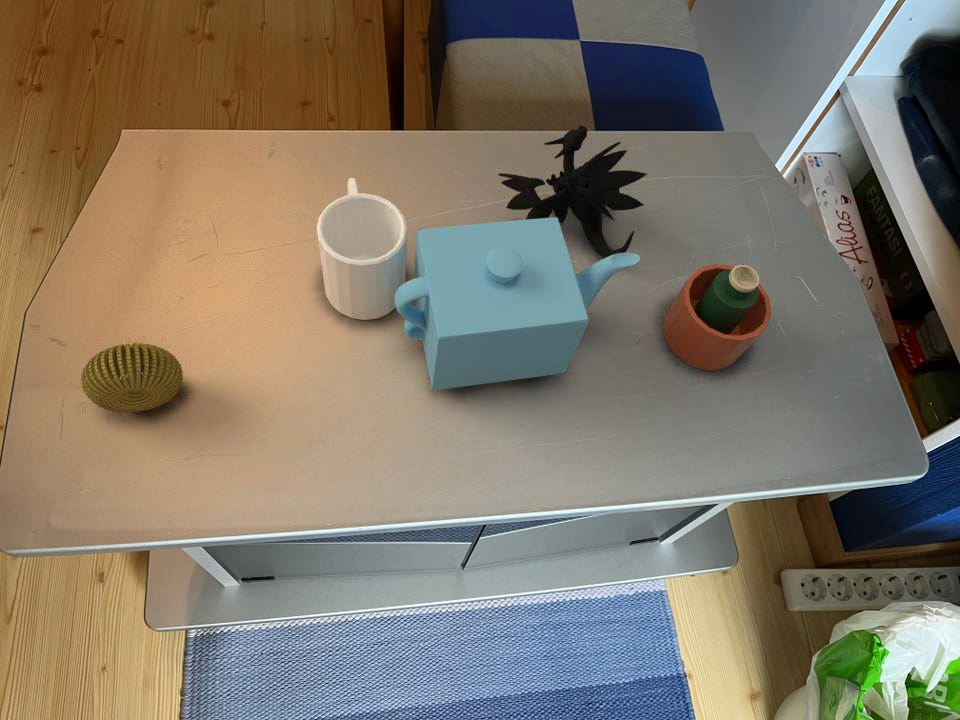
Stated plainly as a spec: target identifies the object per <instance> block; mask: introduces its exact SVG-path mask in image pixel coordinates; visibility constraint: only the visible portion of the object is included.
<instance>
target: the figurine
mask: <svg viewBox="0 0 960 720" xmlns="http://www.w3.org/2000/svg"><path fill="white" fill-rule="evenodd" d="M587 137H588V128H587V127H586V126H585V125H582V124H581V125H579V126H578V128H577V129H571V130H569V131H567V132H566V133H565V134H564V135H563V136H562V137H560V138H557V139H554V140H550V141H547V142H543V145H545V146H552V145H562V149H561V150H560V152H558V153H557V155H555V156H554V157H553V159H558V158H560V157H563V159H562V167H563V170H560V171H559V176H558V177H556V174H555V173H552V174H551V175H550V178H546V179H545V180H543V179H542V178H538V177H528V176H523V175H518V174H512V173H502V172H501V173H498V174H497V175H498V176H499V177H504V178H507V179H505V180H503V181H501V182H500V184H502V185H503V186H504V187H507V188H508V189H510V190H513V191H516V192H518V193H517V194H515V195H514V196H513V197H512V198H511V199H510V200H509V202H508V204H507V205H506V209H508V210H512V211H526V210H529V211H528V212H527V215H526V218H525V220H529V219H541V218H550V216H551V215H552V213H553V214H554V217H558V220H559V223H560V225H563V224H564V222H565V221H566V219H567V216H568V212H569V210H570V211H571V213H572V214H573V216H574V217H575V218H576V219H577V220H578V221H579V222H580V226H581V228H582V231H583V233H584V236H585V238H586V239H587V241H588V242H589V244H590V246H592V248H593V249H594V250H595V252H596V253H597V254H598V255H599V256H601V257H602V258H603V259H604V258H606V257H609V256H611V255H614V254H618V253H627V252H628V249H629V248H630V246H631V243H632V240H633V238H634V235H635V230H632V232H631V233H630V234H629V235H628V237H627V239H626V241H625V243H624V244H623V245H622V246H621V247H619V248H618V247H617V248H616V249H611V247H610V246H609V245H608V243H607V242H606V238H605V236H604V234H603V215H604V216H605V217H607V218H608V219H610V220H611V221H613V222H615V219H614V217H613V215H612V214H611V213H610V211H609V210H608V209H610V210H612V211H613V212H616V211H617V212H618V211H619V212H620V211H621V212H622V211H628V210H629V211H630V210H634V209H637V208H640V207H643V206H645V204H644V203H642V202H641V201H640V200H638V199H637V198H635V197H634V196H633V197H632V196H631V195H629V194H626V193H622V192H620V191H621V189H622V188H624V187H626V186H628V185H631V184H633V183H635V182H638V181H640V180H641V179H642V178H644V177H646V176H647V175H648V173H645V172H641V171H636V170H627V169H626V170H624V169H623V170H612V169H613V168H615V166H616V165H617V164H618V163H619V162H620V161H621V160H622V159H623V158H624V156H625V155H626V154H627V152H628V149H624V150H617V151H615V152H611V151H612V150H613V149H615V148H616V147H618V146H620V144H621V143H622V142H621V141H617V142H614V143H613V144H611V145H610V146H608V147H606V148H604V149H603V150H601V151H600V152H599V153H597V154H595V155H594V156H593V157H592V158H590V159H589V160H588V161H585V162H584V163H583V165H580V166H578V167H577V168H575V167H576V166H575V152H578V151H579V150H580V149H581V148H582V146H583V142H584V141H585V139H586V138H587ZM609 152H611V153H609ZM546 183H547V184H548V186H550V187H552V190H553V192H554V194H552V195H550V196H548V197H545V198H543V199H541V197H540V196H539V194H538V192H537V191H536V190H535V189H536V188H537V187H541V186H545V185H546Z"/></svg>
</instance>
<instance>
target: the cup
mask: <svg viewBox="0 0 960 720" xmlns="http://www.w3.org/2000/svg"><path fill="white" fill-rule="evenodd" d="M734 267H735V266H733V265H728V264H719V263H714V264H711V265H706V266H703V267H699V268H698V269H697V270H695V271H694V272H693V273H691V275H690V276H689V277H688V278H687V280H686V282H685V283H684V284H683V286H682V288H681V289H680V291H679V292H678V294H677V295H676V296H675V299H674V300H673V301H672V303H671V305H670V306H669V308H668V310H667V312H666V314H665V316H664V319H663V324H662V329H663V336H664V340H665V342H666V344H667V345H668V347H669V349H670V350H671V352H672V353H673V354H674V355H675V356H676V357H677V358H678V359H679V360H681V361H682V362H684V363H685V364H687V365H688V366H691V367H693V368H695V369H699V370H704V371H719V370H724V369H726V368H728V367H729V366H732V365H733V364H734V363H735V362H736V361H737V360H738V359H739V358H740V357H741V356H742V355H743V354H744V353H745V352H746V351H747V350H748V349H749V348H750V346H751V345H752V344H753V343H754V342H755V341H756V339H758V337H759V336H760V335H761V334H762V333H763V332H764V331H765V330H766V328H767V327H768V326H769V322H770V319H771V317H772V308H771V302H770V297H769V295H768V294H767V292H766V291H765V289H764V286H762V284H761V283H760V282H759V284H758V286H757V287H758V291H759V296H758V300H757V301H756V303H755V304H754V305H753V307H752V308H751V309H750V310H749V311H748V313H747V314H746V315H745V316H744V317H743V319H742V320H741V321H740V322H739V324H738V325H737V326H736V327H735V328H734V330H733V331H732V332H731V333H730V334H729V335H727V334H723V333H721V332H718V331H716V330H714V329H712V328H710V327H708V326H707V325H706V324H705V323H704V322H703V321H702V320H701V319H700V318H698V317H697V315H696V313H695V311H694V308H695V306H696V305H697V303H698V302H699V300H700V299H701V298H702V296H703V295H704V293H705V292H706V290H707V289H708V287H709V286H710V285H711V283H712V282H713V280H714V279H715V277H716V276H717V275H718V274H719V273H720V272H722V271H725V270H732V269H733V268H734Z"/></svg>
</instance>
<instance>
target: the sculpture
mask: <svg viewBox="0 0 960 720" xmlns="http://www.w3.org/2000/svg"><path fill="white" fill-rule="evenodd" d="M82 370H83V371H82V372H81V379H80V381H81V388H82V391H83V393H84V394H85V396H86V397H87V399H88V400H89V401H90V402H92V403H93V404H95V405H97V406H98V407H99V408H101V409H102V408H103V409H104V410H107V411H112V412H117V413H135V412H141V411H142V412H145V411H148V410H152V409H154V408H158V407H159V406H162V405H164V404H166V403H167V402H169V401H170V400H171V399H173V398H174V397H175V396H176V394H177V393H178V392H179V390H180V389H181V386H182V384H183V378H184V374H183V373H184V372H183V371H184V370H183V367H182V365H181V363H180V362H179V360H178V358H177V357H176V356H175V355H173V353H171V352H170V351H168V350H166V349H165V348H163V347H160V346H157V345H154V344H149V343H137V342H135V343H134V342H133V343H125V344H118V345H115V346H111V347H108V348H106V349H104V350H101V351H99V352H98V353H96V354H95V355H93V356H92V357H91V358H90V359H89V360H88V361H87V362H86V364H85V366H84V368H83V369H82Z"/></svg>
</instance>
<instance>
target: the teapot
mask: <svg viewBox="0 0 960 720" xmlns="http://www.w3.org/2000/svg"><path fill="white" fill-rule="evenodd" d="M414 258H415V259H414V273H413V274H414V275H413V278H412V279H410V280H407V281H405V283H404V284H403V285H401V286H400V287H399V288H398V289H397V291H396V293H395V298H394V300H395V306H396V308H395V309H396V311H397V312H398V314H399V315H400V316H401V317H402V318H403V319H405V321H404V323H403V331H404V333H405V335H406V336H407V337H408V338H409V339H412V340H422V344H423V350H424V356H425V361H426V366H427V372H428V378H429V383H430V388H431V391H440V390H447V389H453V388H454V389H456V388H463V387H469V386H471V387H472V386H477V385H478V386H479V385H485V384H492V383H494V384H495V383H501V382H508V381H514V380H515V381H516V380H523V379H531V378H538V377H545V376H553V375H559V374H560V375H561V374H565V373H566V371H567V369H568V367H569V366H570V365H569V364H570V363H571V361H572V360H573V359H572V358H573V356H574V354H575V352H576V350H577V348H578V347H579V344H580V342H581V340H582V338H583V336H584V333H585V331H586V329H587V327H588V325H589V322H590V320H589V319H590V318H589V316H588V313H587V309H588V308H589V307H590V305H591V304H592V303H593V302H594V300H595V299H596V297H597V296H598V294H599V293H600V291H601V290H602V288H603V287H604V285H606V283H607V282H608V281H609V280H610V279H611V278H612V277H613V276H615V275H616V274H618V273H619V272H622V271H623V270H626V269H629V268H631V267H633V266H635V265H637V264H638V263H639V262H640V259H641V257H640V256H639V255H638V254H637V253H633V252H625V253H618V254H614V255H611V256H609V257H606V258H604V257H603V258H602V259H600V260H599V261H596V262H595V263H594V264H591V266H589V267H587V268H585V269H584V270H582V271H581V272H578V273H575V270H574V266H573V263H572V260H571V256H570V253H569V250H568V247H567V243H566V240H565V236H564V234H563V230H562V227H561V223H560V222H559V220H558V217H556V216H554V217H549V218H541V219H529V220H526V219H519V220H508V221H507V220H506V221H495V222H485V223H484V222H483V223H474V224H464V225H454V226H453V225H452V226H443V227H442V226H441V227H432V228H425V229H418V230H416V239H415V257H414ZM413 301H414V302H415V305H414V304H412V303H411V302H413Z"/></svg>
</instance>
